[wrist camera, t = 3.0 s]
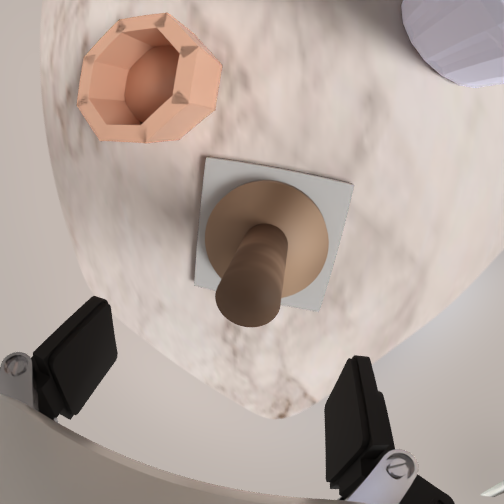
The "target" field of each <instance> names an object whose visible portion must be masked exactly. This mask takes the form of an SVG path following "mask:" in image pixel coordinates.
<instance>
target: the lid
mask: <svg viewBox="0 0 504 504" xmlns="http://www.w3.org/2000/svg"><path fill="white" fill-rule="evenodd" d="M205 247H206V252H207V256H208V258H209V261H210V263H211V265H212V267H213V269H214V270H215V271H216V273H217V274H218V275H219V277H220V278H221V281H220V283H219V285H218V287H217V289H216V295H215V298H216V303H217V306H218V308H219V310H220V312H221V313H222V314H223V315H224V316H225V317H226V318H227V319H228V320H230V321H231V322H233V323H235V324H237V325H240V326H244V327H259V326H262V325H265V324H267V323H269V322H270V321H272V320H273V319H274V318H275V317H276V315H277V314H278V312H279V309H280V305H281V298H284V297H288V296H291V295H294V294H296V293H298V292H300V291H302V290H303V289H305V288H306V287H307V286H309V285H310V284H311V283H312V282H313V281H314V280H315V279H316V278H317V276H318V275H319V273H320V272H321V270H322V268H323V266H324V264H325V262H326V259H327V254H328V248H329V239H328V232H327V228H326V224H325V221H324V218H323V216H322V214H321V212H320V210H319V208H318V207H317V205H316V204H315V203H314V201H313V200H312V199H311V198H310V197H309V196H308V195H306V194H305V193H304V192H302V191H301V190H299V189H298V188H296V187H294V186H292V185H289V184H287V183H283V182H280V181H274V180H258V181H252V182H249V183H245V184H243V185H241V186H238V187H237V188H235V189H233V190H232V191H230V192H229V193H228V194H227V195H226V196H224V197H223V198H222V199H221V200H220V201H219V202H218V203H217V205H216V206H215V207H214V209H213V210H212V212H211V214H210V216H209V218H208V222H207V225H206V230H205Z"/></svg>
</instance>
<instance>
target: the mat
mask: <svg viewBox="0 0 504 504" xmlns="http://www.w3.org/2000/svg"><path fill="white" fill-rule="evenodd" d="M258 180H274V181H280V182H283V183H287V184H289V185H292V186H294V187H296V188H298V189H299V190H301V191H302V192H304V193H305V194H306V195H308V196H309V197H310V198H311V199H312V200H313V201H314V203H315V204H316V205H317V207H318V208H319V210H320V212H321V214H322V216H323V218H324V221H325V224H326V228H327V232H328V239H329V248H328V254H327V259H326V262H325V264H324V266H323V268H322V270H321V272H320V273H319V275H318V276H317V278H316V279H315V280H314V281H313V282H312V283H311V284H310V285H309V286H307V287H306V288H305V289H303V290H302V291H300V292H298V293H296V294H294V295H291V296H288V297H284V298H281V305H284V306H289V307H294V308H299V309H304V310H310V311H315V312H319V310H320V307H321V304H322V301H323V298H324V295H325V292H326V288H327V285H328V282H329V279H330V275H331V272H332V269H333V265H334V262H335V258H336V255H337V251H338V247H339V244H340V240H341V236H342V233H343V229H344V225H345V221H346V217H347V213H348V209H349V205H350V201H351V197H352V193H353V188H354V185H353V184H351V183H347V182H343V181H339V180H334V179H330V178H326V177H321V176H316V175H312V174H307V173H302V172H297V171H292V170H287V169H282V168H277V167H271V166H265V165H260V164H254V163H248V162H241V161H235V160H228V159H221V158H214V157H206V162H205V170H204V179H203V188H202V197H201V207H200V217H199V228H198V240H197V252H196V265H195V280H194V286H197V287H201V288H206V289H210V290H214V291H216V289H217V287H218V285H219V283H220V281H221V278H220V277H219V275H218V274H217V273H216V271H215V270H214V269H213V267H212V265H211V263H210V261H209V258H208V256H207V252H206V247H205V230H206V225H207V222H208V218H209V216H210V214H211V212H212V210H213V209H214V207H215V206H216V205H217V203H218V202H219V201H220V200H221V199H222V198H223V197H224V196H226V195H227V194H228V193H229V192H230V191H232V190H233V189H235V188H237V187H238V186H241V185H243V184H245V183H249V182H252V181H258Z"/></svg>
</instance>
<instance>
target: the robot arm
mask: <svg viewBox="0 0 504 504" xmlns="http://www.w3.org/2000/svg"><path fill="white" fill-rule="evenodd" d="M116 359H117V347H116V342H115V335H114V328H113V321H112V313H111V306H110V305H109V304H108V302H107V300H105V299H102V298H99V297H96V296H93V297H91V298H90V299H89V300H88V301H87V302H86V303H85V304H84V305H83V306H82V307H80V308H79V309H78V310H77V311H76V312H75V313H74V314H73V315H72V316H70V317H69V318H68V319H67V320H66V321H65V322H64V323H63V324H62V325H61V326H60V327H59V328H58V329H57V330H56V331H55V332H54V333H53V334H52V335H51V336H49V337H48V338H47V339H46V340H45V341H44V342H43V343H42V344H41V345H40V346H39V347H38V348H37V349H36V350H35V351H34V352H33V357H32V358H30V357H29V356H28V355H27V354H25V353H22V352H16V353H12V354H10V355H8V356H7V357H5V358H4V360H3V361H2V364H1V367H0V504H454V501H453V500H452V498H451V497H450V496H449V495H447V494H446V493H444V492H442V491H441V490H440V489H438V488H437V487H435V486H434V485H432V484H431V483H429V482H428V481H426V480H425V479H423V478H422V477H421V476H419V475H418V474H417V473H418V462H417V460H416V458H415V457H414V456H413V455H412V454H411V453H410V452H408V451H405V450H401V449H395V447H394V441H393V436H392V432H391V427H390V422H389V418H388V413H387V409H386V405H385V400H384V397H383V394H382V393H381V392H379V391H378V390H377V385H376V381H375V377H374V373H373V369H372V365H371V361H370V358H369V357H365V356H357V355H355V356H353V358H352V359H350V358H349V359H348V360H347V362H346V364H345V366H344V368H343V370H342V372H341V374H340V376H339V378H338V380H337V382H336V384H335V386H334V388H333V390H332V392H331V394H330V396H329V398H328V400H327V402H326V404H325V411H324V412H325V441H326V442H325V444H326V481H327V482H330V489H339V495H341V497H340V498H339V499H338V500H326V499H310V498H297V497H287V496H278V495H270V494H262V493H255V492H249V491H243V490H238V489H232V488H228V487H223V486H218V485H214V484H210V483H205V482H201V481H198V480H194V479H190V478H186V477H183V476H180V475H176V474H173V473H170V472H167V471H164V470H161V469H157V468H155V467H152V466H149V465H146V464H144V463H141V462H139V461H136V460H133V459H131V458H128V457H126V456H124V455H121V454H119V453H117V452H114V451H112V450H110V449H107V448H105V447H103V446H101V445H99V444H97V443H95V442H92V441H90V440H89V439H87V438H84V437H83V436H81V435H79V434H77V433H75V432H73V431H71V430H69V429H68V428H66V427H64V426H62V425H60V424H59V423H58V421H57V417H58V415H59V414H61V415H63V416H65V417H66V418H68V419H71V418H72V417H73V415H77V414H78V413H79V412H80V410H81V409H82V407H83V406H84V404H85V403H86V402H87V400H88V399H89V397H90V396H91V394H92V393H93V392H94V390H95V389H96V387H97V386H98V384H99V383H100V382H101V380H102V379H103V377H104V376H105V375H106V373H107V372H108V371H109V369H110V368H111V367H112V365H113V364H114V362H115V361H116Z"/></svg>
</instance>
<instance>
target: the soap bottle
mask: <svg viewBox="0 0 504 504" xmlns="http://www.w3.org/2000/svg"><path fill="white" fill-rule="evenodd" d="M401 8H402V19H403V25H404V27H405V29H406V32H407V34H408V36H409V39H410V41H411V43H412V44H413V46H414V47H415V48H416V50H417V51H418V52H419V54H420V55H421V57H422V58H423V59H424V61H426V62H427V63H428V64H429V65H430V66H431V67H432V68H433V69H435V70H436V71H437V72H438V73H439V74H440V75H442V76H444V77H445V78H447V79H449V80H451V81H453V82H455V83H456V84H458V85H461V86H467V87H473V88H479V87H485V86H491V85H498V84H504V0H403V2H402V4H401Z"/></svg>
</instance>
